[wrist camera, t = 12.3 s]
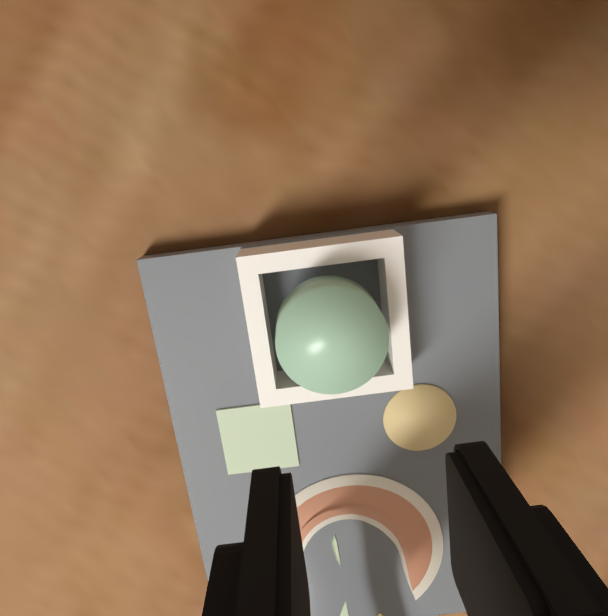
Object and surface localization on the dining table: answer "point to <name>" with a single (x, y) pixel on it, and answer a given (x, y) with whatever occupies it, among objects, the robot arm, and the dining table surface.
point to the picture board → (334, 407)
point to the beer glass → (357, 564)
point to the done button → (330, 335)
